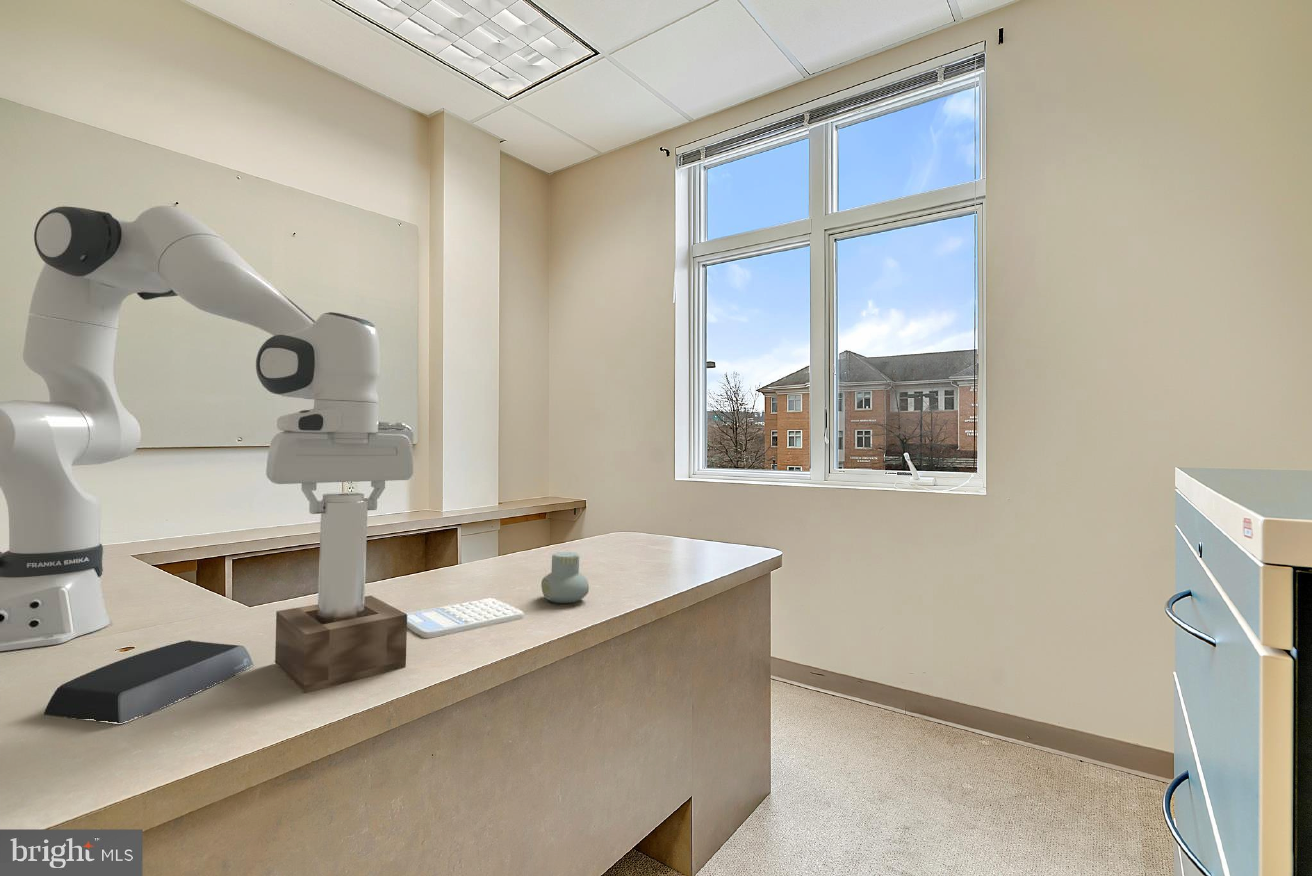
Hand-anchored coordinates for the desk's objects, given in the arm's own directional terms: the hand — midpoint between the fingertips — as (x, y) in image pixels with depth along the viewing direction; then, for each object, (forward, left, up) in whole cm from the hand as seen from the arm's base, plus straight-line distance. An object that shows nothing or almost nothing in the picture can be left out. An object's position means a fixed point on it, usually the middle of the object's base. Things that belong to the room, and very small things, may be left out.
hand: (343, 511), depth 93 cm
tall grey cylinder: (0, 0, -22) cm, 22 cm away
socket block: (0, 0, -24) cm, 24 cm away
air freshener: (+48, +7, -24) cm, 54 cm away
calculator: (+25, +9, -24) cm, 36 cm away
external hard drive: (-21, +7, -24) cm, 33 cm away
